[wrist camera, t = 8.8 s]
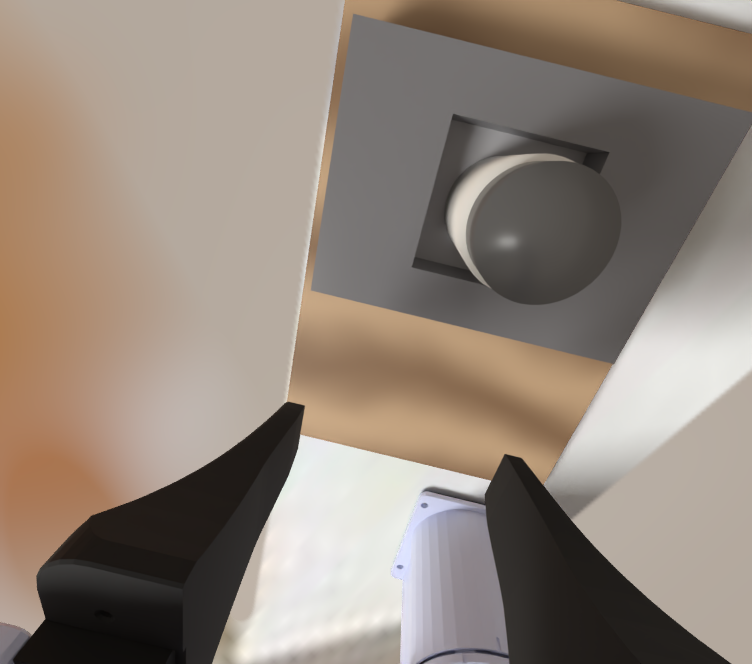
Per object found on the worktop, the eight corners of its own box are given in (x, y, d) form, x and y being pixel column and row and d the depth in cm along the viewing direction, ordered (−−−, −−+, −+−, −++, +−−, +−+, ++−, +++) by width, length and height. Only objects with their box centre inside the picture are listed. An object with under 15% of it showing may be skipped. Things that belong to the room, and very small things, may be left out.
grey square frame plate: (697, 121, 15) (757, 113, 13) (586, 335, 20) (613, 364, 17) (364, 39, 15) (352, 13, 13) (325, 272, 20) (310, 290, 17)
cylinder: (568, 205, 16) (662, 230, 10) (492, 279, 18) (535, 338, 12) (499, 131, 15) (558, 112, 9) (423, 216, 17) (434, 245, 11)
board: (534, 480, 25) (539, 492, 24) (287, 420, 25) (282, 430, 24) (772, 51, 15) (795, 44, 14) (358, -52, 15) (354, -65, 14)
